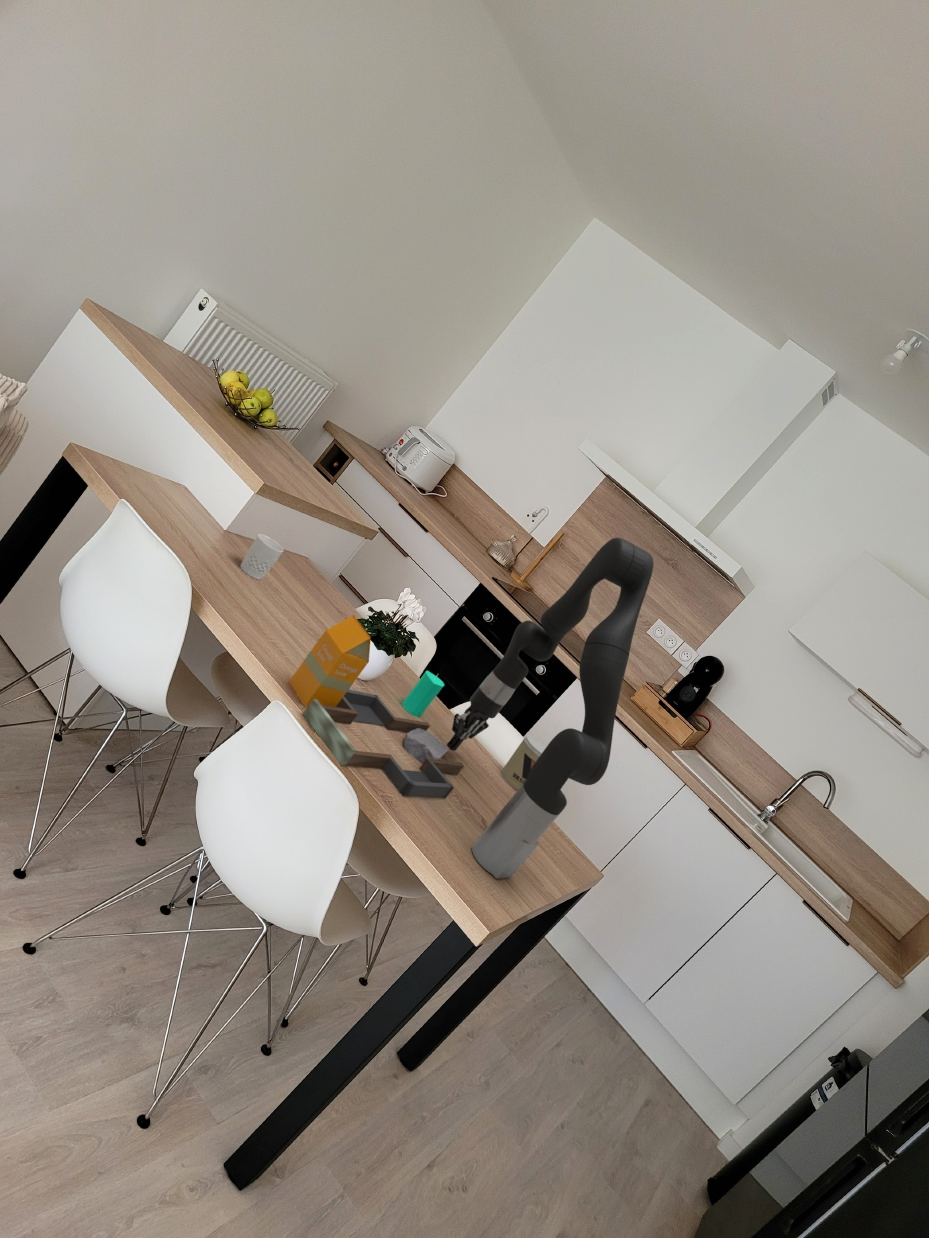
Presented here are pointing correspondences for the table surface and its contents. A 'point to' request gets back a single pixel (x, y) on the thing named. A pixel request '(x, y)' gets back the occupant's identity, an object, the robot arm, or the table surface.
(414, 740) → the stone block
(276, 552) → the white cup
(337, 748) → the corridor
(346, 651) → the orange juice
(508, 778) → the beige canister
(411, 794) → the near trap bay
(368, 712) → the tray
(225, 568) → the table surface
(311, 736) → the table surface
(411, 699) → the candle
